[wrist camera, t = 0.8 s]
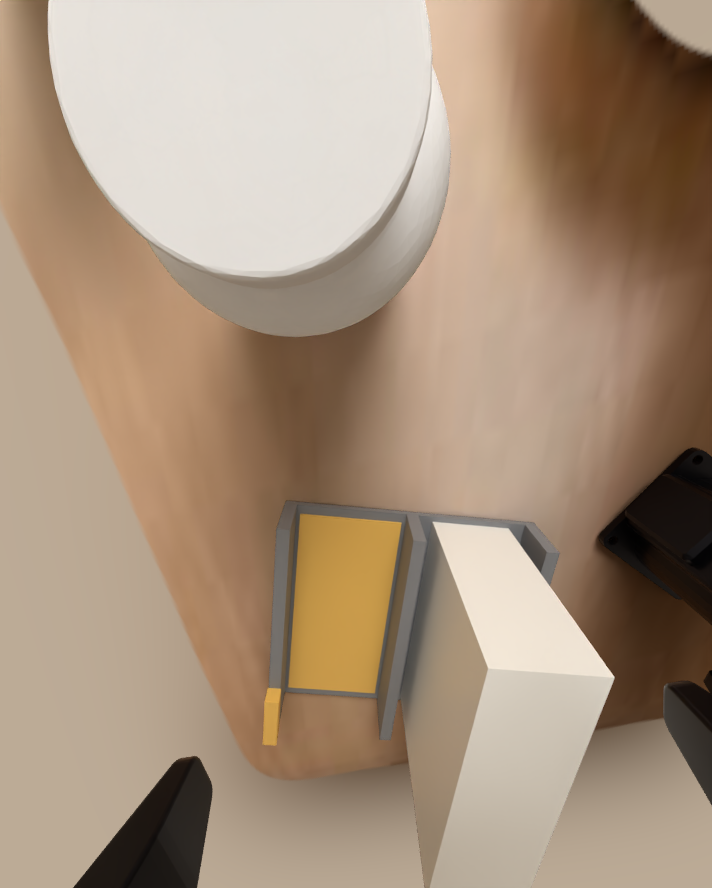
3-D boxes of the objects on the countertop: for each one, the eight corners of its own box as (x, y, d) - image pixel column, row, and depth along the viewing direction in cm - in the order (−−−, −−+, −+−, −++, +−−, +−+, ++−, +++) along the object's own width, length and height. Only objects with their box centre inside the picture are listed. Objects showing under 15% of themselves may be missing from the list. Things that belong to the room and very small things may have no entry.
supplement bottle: (375, 121, 16) (456, -510, 4) (418, 295, 18) (564, 269, 6) (215, 180, 16) (-183, -191, 4) (274, 342, 18) (124, 411, 6)
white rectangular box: (508, 528, 21) (614, 677, 13) (464, 700, 25) (524, 905, 16) (432, 521, 21) (488, 668, 12) (400, 696, 25) (426, 900, 16)
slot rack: (533, 522, 21) (568, 563, 18) (485, 701, 25) (505, 762, 22) (285, 500, 21) (272, 538, 17) (274, 686, 25) (262, 747, 21)
